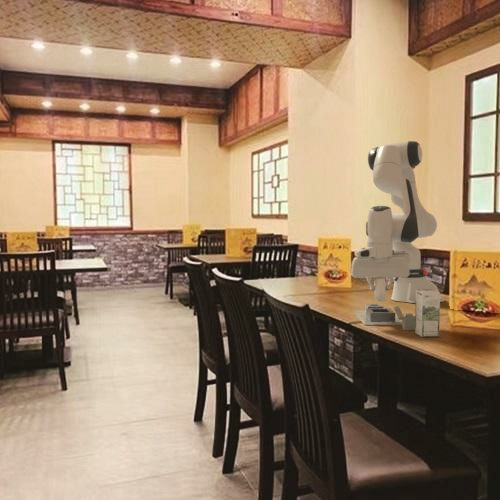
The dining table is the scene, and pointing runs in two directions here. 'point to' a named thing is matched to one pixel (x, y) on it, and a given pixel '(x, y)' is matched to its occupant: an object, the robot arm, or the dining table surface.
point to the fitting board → (377, 315)
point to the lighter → (406, 319)
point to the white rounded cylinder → (380, 289)
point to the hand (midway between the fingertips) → (379, 289)
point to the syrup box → (427, 313)
